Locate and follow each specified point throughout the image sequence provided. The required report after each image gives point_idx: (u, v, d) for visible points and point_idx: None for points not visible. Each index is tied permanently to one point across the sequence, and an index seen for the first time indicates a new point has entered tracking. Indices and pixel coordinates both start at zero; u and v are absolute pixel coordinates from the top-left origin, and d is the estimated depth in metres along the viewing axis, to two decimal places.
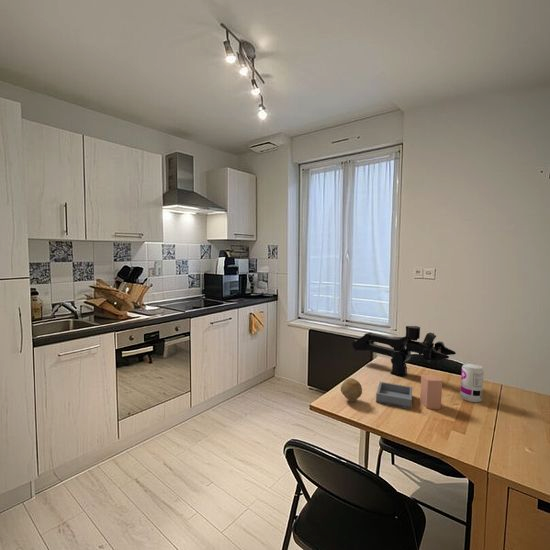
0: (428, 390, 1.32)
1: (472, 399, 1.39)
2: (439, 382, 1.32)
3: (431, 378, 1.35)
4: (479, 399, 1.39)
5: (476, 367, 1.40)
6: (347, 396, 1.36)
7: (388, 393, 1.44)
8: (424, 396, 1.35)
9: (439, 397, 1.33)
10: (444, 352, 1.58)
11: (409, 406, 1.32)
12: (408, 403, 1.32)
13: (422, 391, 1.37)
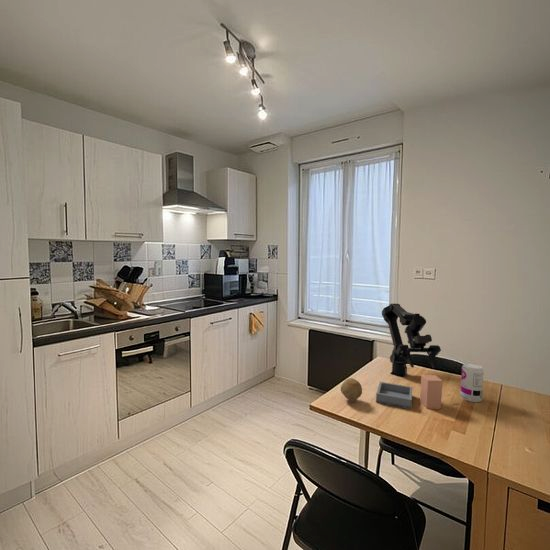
0: (428, 390, 1.32)
1: (472, 399, 1.39)
2: (439, 382, 1.32)
3: (431, 378, 1.35)
4: (479, 399, 1.39)
5: (476, 367, 1.40)
6: (347, 396, 1.36)
7: (388, 393, 1.44)
8: (424, 396, 1.35)
9: (439, 397, 1.33)
10: (430, 358, 1.47)
11: (409, 406, 1.32)
12: (408, 403, 1.32)
13: (422, 391, 1.37)
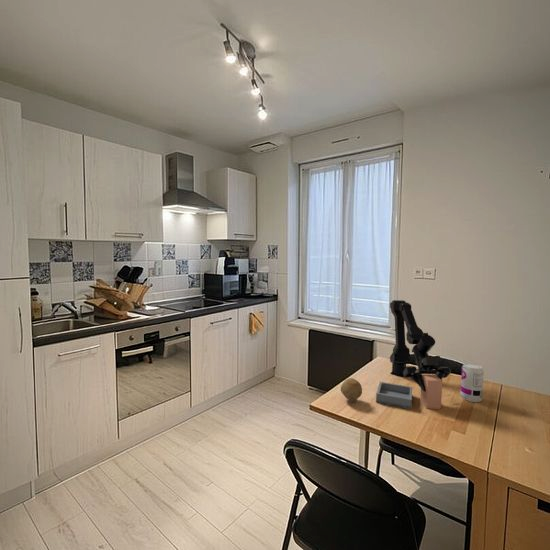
0: (428, 390, 1.32)
1: (472, 399, 1.39)
2: (439, 382, 1.32)
3: (431, 378, 1.35)
4: (479, 399, 1.39)
5: (476, 367, 1.40)
6: (347, 396, 1.36)
7: (388, 393, 1.44)
8: (424, 396, 1.35)
9: (439, 397, 1.33)
10: None
11: (409, 406, 1.32)
12: (408, 403, 1.32)
13: (422, 391, 1.37)
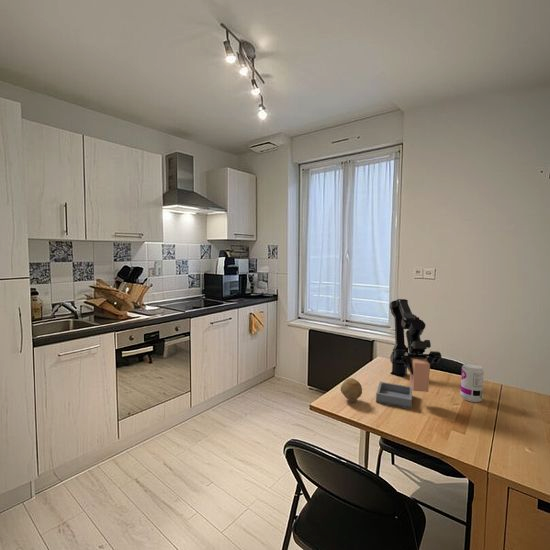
0: (415, 373, 1.34)
1: (472, 399, 1.39)
2: (426, 366, 1.33)
3: (419, 361, 1.35)
4: (479, 399, 1.39)
5: (476, 367, 1.40)
6: (347, 396, 1.36)
7: (388, 393, 1.44)
8: (412, 379, 1.36)
9: (426, 380, 1.33)
10: None
11: (409, 406, 1.32)
12: (408, 403, 1.32)
13: (411, 374, 1.38)
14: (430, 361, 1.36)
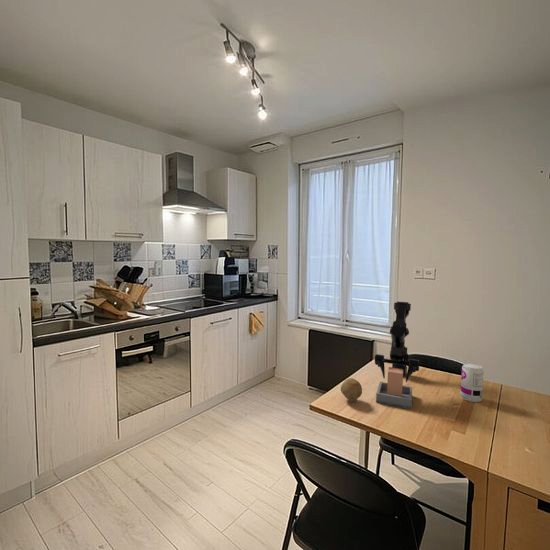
0: (388, 381, 1.39)
1: (472, 399, 1.39)
2: (399, 375, 1.37)
3: (394, 370, 1.40)
4: (479, 399, 1.39)
5: (476, 367, 1.40)
6: (347, 396, 1.36)
7: None
8: None
9: (399, 389, 1.37)
10: None
11: (409, 406, 1.32)
12: (408, 403, 1.32)
13: None
14: (410, 369, 1.39)
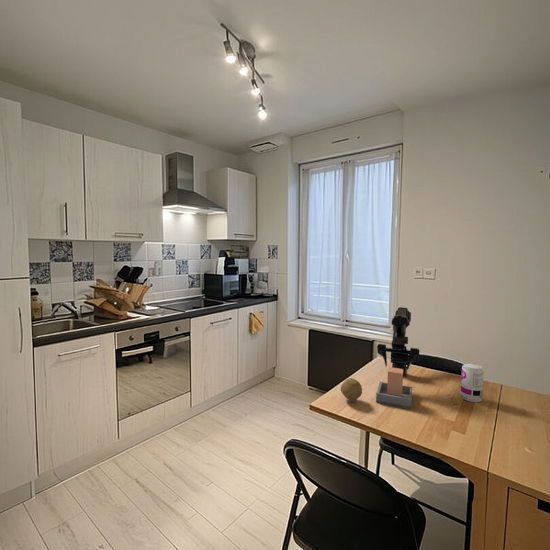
0: (388, 381, 1.39)
1: (472, 399, 1.39)
2: (399, 375, 1.37)
3: (394, 370, 1.40)
4: (479, 399, 1.39)
5: (476, 367, 1.40)
6: (347, 396, 1.36)
7: None
8: None
9: (399, 389, 1.37)
10: None
11: (409, 406, 1.32)
12: (408, 403, 1.32)
13: None
14: (411, 357, 1.47)
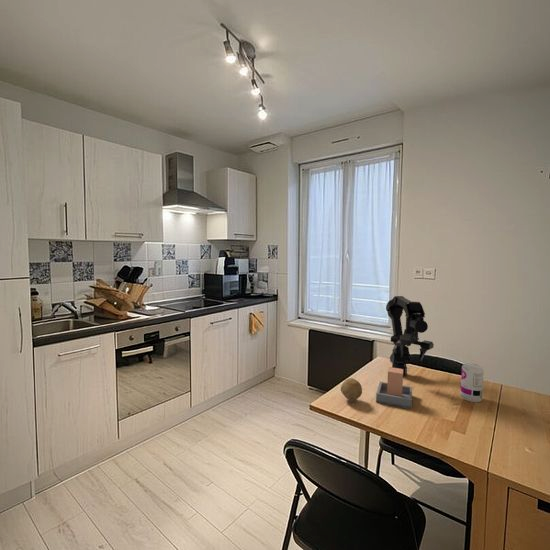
0: (388, 381, 1.39)
1: (472, 399, 1.39)
2: (399, 375, 1.37)
3: (394, 370, 1.40)
4: (479, 399, 1.39)
5: (476, 367, 1.40)
6: (347, 396, 1.36)
7: None
8: None
9: (399, 389, 1.37)
10: None
11: (409, 406, 1.32)
12: (408, 403, 1.32)
13: None
14: (422, 351, 1.50)
